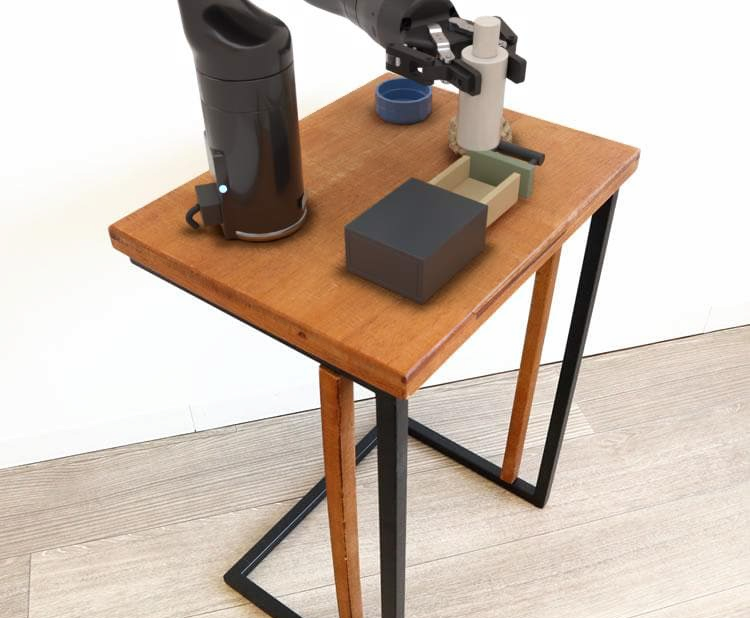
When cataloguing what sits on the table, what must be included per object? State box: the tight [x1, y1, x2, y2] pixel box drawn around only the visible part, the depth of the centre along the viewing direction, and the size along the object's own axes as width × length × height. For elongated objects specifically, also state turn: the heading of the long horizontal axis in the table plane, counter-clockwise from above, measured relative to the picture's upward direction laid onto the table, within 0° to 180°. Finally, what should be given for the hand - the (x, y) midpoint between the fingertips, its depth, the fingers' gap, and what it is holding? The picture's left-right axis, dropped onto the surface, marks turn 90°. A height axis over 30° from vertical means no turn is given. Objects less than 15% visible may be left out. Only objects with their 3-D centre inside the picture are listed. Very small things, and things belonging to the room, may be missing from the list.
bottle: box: [456, 15, 508, 151], centre depth 81 cm, size 4×4×12 cm
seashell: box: [446, 113, 513, 157], centre depth 100 cm, size 8×6×10 cm
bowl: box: [374, 76, 434, 125], centre depth 107 cm, size 7×7×3 cm
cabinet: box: [343, 176, 488, 305], centre depth 83 cm, size 11×9×5 cm
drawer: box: [427, 139, 546, 229], centre depth 91 cm, size 14×8×4 cm, turn 143°
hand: (500, 79), depth 78 cm, fingers closed on bottle, 4 cm apart
